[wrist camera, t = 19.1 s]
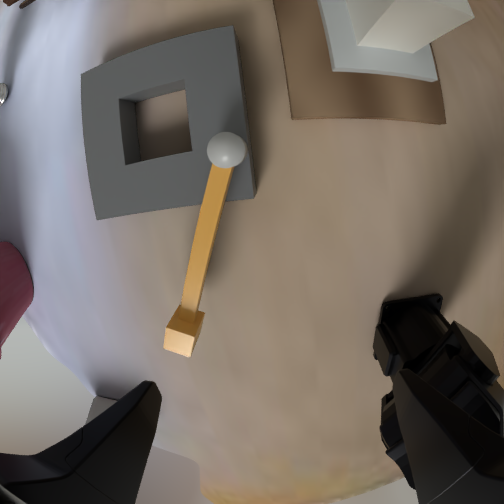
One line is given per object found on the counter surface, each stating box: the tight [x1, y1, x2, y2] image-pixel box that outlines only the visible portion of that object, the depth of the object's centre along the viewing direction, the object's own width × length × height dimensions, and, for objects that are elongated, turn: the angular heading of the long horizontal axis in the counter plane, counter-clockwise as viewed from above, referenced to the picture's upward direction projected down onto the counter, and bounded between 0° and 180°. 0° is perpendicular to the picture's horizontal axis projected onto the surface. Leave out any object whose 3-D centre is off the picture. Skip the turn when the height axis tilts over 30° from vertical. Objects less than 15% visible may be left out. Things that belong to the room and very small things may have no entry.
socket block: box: [81, 25, 257, 220], centre depth 17 cm, size 12×12×2 cm
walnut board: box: [273, 0, 446, 125], centre depth 14 cm, size 12×12×1 cm
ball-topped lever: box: [164, 132, 248, 357], centre depth 16 cm, size 14×2×3 cm, turn 164°
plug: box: [317, 0, 475, 82], centre depth 9 cm, size 7×7×10 cm
